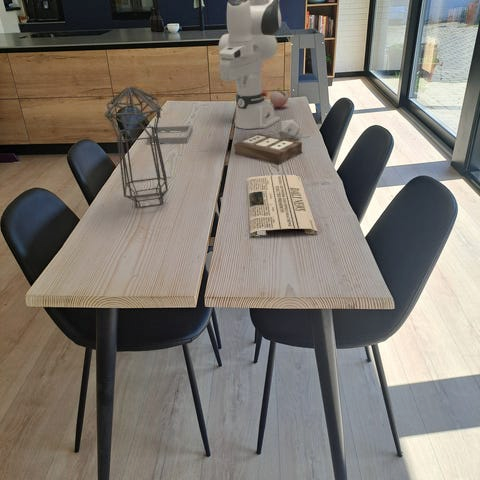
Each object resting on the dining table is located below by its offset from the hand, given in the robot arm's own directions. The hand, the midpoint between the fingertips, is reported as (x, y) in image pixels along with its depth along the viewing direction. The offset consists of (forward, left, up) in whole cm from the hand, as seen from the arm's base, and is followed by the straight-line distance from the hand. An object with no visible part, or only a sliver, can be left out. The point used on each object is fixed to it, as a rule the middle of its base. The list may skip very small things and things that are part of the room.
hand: (243, 88), depth 171 cm
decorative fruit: (-56, -25, -23) cm, 65 cm away
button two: (0, +18, -22) cm, 28 cm away
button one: (0, +11, -22) cm, 25 cm away
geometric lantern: (+55, +6, -23) cm, 60 cm away
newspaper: (+34, +42, -24) cm, 59 cm away
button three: (0, +5, -22) cm, 22 cm away
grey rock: (-18, +8, -23) cm, 30 cm away
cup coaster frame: (+7, -37, -23) cm, 44 cm away
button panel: (0, +11, -23) cm, 26 cm away
